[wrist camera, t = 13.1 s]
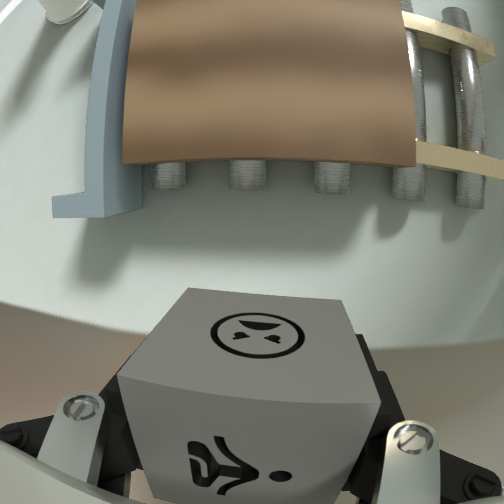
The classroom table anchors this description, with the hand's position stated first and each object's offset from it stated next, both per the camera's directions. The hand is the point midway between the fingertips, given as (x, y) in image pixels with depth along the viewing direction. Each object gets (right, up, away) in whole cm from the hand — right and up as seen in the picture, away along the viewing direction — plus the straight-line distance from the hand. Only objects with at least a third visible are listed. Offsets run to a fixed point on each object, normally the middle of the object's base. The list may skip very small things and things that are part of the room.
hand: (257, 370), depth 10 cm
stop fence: (-12, +18, +12) cm, 25 cm away
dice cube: (0, 0, +1) cm, 1 cm away
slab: (+1, +17, +8) cm, 19 cm away
